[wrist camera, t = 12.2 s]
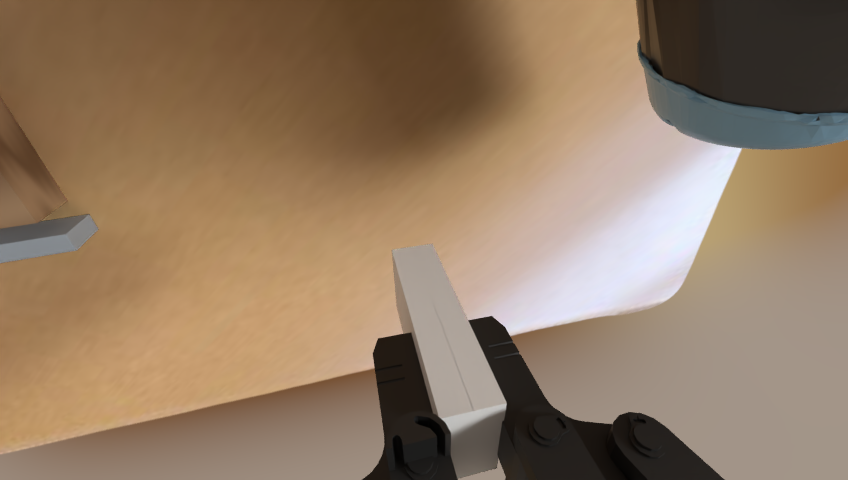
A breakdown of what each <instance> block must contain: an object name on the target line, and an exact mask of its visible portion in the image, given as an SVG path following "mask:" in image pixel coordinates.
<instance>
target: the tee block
mask: <svg viewBox="0 0 848 480" xmlns="http://www.w3.org/2000/svg"><path fill="white" fill-rule="evenodd" d="M67 201H68V200H67V199H66V197H65V196H64V194H63V193H62V191H61V189H60V188H59V186H58V185H57V183H56V182H55V180H54V179H53V177H52V176H51V174H50V173H49V171H48V169H47V168H46V166H45V165H44V163H43V162H42V160H41V159H40V157H39V156H38V154H37V152H36V151H35V149H34V148H33V146H32V145H31V143H30V142H29V140H28V139H27V137H26V135H25V134H24V132H23V131H22V129H21V128H20V126H19V125H18V123H17V122H16V120H15V118H14V117H13V115H12V114H11V112H10V111H9V109H8V108H7V106H6V105H5V103H4V101H3V100H2V98H1V97H0V229H2V228H8V227H15V226H21V225H28V224H34V223H38V222H39V221H41V220H42V219H43V218H45V217H46V216H48V215H49V214H50V213H52V212H53V211H54V210H56V209H57V208H58V207H60V206H61V205H63V204H64V203H65V202H67Z"/></svg>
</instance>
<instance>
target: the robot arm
mask: <svg viewBox="0 0 848 480" xmlns="http://www.w3.org/2000/svg"><path fill="white" fill-rule="evenodd" d="M636 6H637V15H638V25H639V34H640V40H639V41H638V43H637V52H638V56H639V60H640V62H641V64H642V66H643V68H644V72H645V78H646V83H647V89H648V94H649V100H650V102H651V105H652V107H653V109H654V111H655V112H656V113H657V115H658V116H659V117H660V118H661V119H662V120H663V121H664V122H666V123H667V124H669V125H671V126H674V127H676V129H678V131H679V132H681V133H683V134H685V135H687V136H690V137H692V138H695V139H698V140H701V141H705V142H708V143H713V144H717V145H722V146H728V147H736V148H747V149H770V150H772V149H774V150H775V149H797V148H807V147H815V146H821V145H827V144H832V143H837V142H841V141H845V140H848V0H636ZM392 258H393V270H394V281H395V292H396V303H397V310H398V314H399V318H400V322H401V326H402V330H403V334H400V335H395V336H389V337H384V338H379V339H378V340H377V343H376V346H375V349H374V352H373V359H374V366H375V373H376V379H377V387H378V394H379V400H380V408H381V416H382V423H383V430H384V440H385V441H384V443H385V445H384V450H383V454H382V457H381V459H380V461H379V463H378V465H377V466H376V467H375V468H374V470H373V471H372V472H371V473H370V474H369V475H368V476H366V477H365V478H364V479H363V480H458V478H462V477H466V476H470V475H473V474H477V473H480V472H485V471H488V470H492V469H496V468H497V463H498V458H499V460H500V463H501V465H502V468H503V470H504V473H505V476H506V479H505V480H724V479H723V478H722V477H721V476H720V475H719V474H718V473H716V472H715V471H714V470H713V469H712V468H711V467H710V466H709V465H708V464H706V463H705V462H704V461H703V460H702V459H701V458H700V457H699V456H697V455H696V454H695V453H694V452H693V451H692V450H691V449H689V448H688V447H687V446H686V445H685V444H684V443H683V442H682V441H681V440H680V439H679V438H677V437H676V436H675V435H674V434H673V433H672V432H671V431H670V430H669V429H668V428H666V427H665V426H664V425H662V424H661V423H660V422H658V421H657V420H655V419H654V418H651V417H649V416H647V415H644V414H642V413H633V412H628V413H625V414H622V415H619V416H618V417H617V419H616V420H615V421H614V422H613V424H604V423H593V422H583V421H578V420H574V419H571V418H569V417H567V416H565V415H564V414H563V413H561V412H560V411H558V410H557V409H555V408H553V406H551V405H550V403H549V402H548V401H547V399H546V398H545V397H544V395H543V393H542V391H541V389H540V388H539V386H538V384H537V383H536V381H535V379H534V377H533V375H532V374H531V372H530V370H529V369H528V367H527V365H526V363H525V362H524V360H523V358H522V356H521V355H520V354H519V351H518V349H517V347H516V346H515V344H514V343H513V341H512V339H511V337H510V335H509V333H508V332H507V330H506V328H505V327H504V326H503V325H502V324H501V323H499V322H498V321H497V320H496V319H494V318H493V317H492V316H489V317H484V318H479V319H474V320H468V319H467V317H466V315H465V313H464V310H463V308H462V306H461V304H460V302H459V300H458V297H457V295H456V293H455V291H454V289H453V287H452V285H451V282H450V280H449V278H448V276H447V274H446V272H445V270H444V267H443V265H442V263H441V261H440V259H439V257H438V255H437V252H436V250H435V248H434V246H433V244H427V245H420V246H414V247H407V248H400V249H393V250H392Z"/></svg>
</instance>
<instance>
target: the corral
mask: <svg viewBox="0 0 848 480" xmlns="http://www.w3.org/2000/svg"><path fill="white" fill-rule="evenodd" d="M97 230H98V228H97V226H96V224H95V223H94V221H93V220H92V218H91V216H90V215H89V214H87V215H80V216H74V217H67V218H61V219H54V220H48V221H41V222H38V223H34V224H28V225H21V226H15V227H8V228H2V229H0V263H4V262H10V261H16V260H22V259H28V258H34V257H40V256H46V255H52V254H58V253H64V252H70V251H76V250H78V249H79V248H80V247H81V246H82V245H83V244H84V243H85V242H86V241H87V240H88V239H89V238H90V237H91V236H92V235H93V234H94V233H95V232H96V231H97Z"/></svg>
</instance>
